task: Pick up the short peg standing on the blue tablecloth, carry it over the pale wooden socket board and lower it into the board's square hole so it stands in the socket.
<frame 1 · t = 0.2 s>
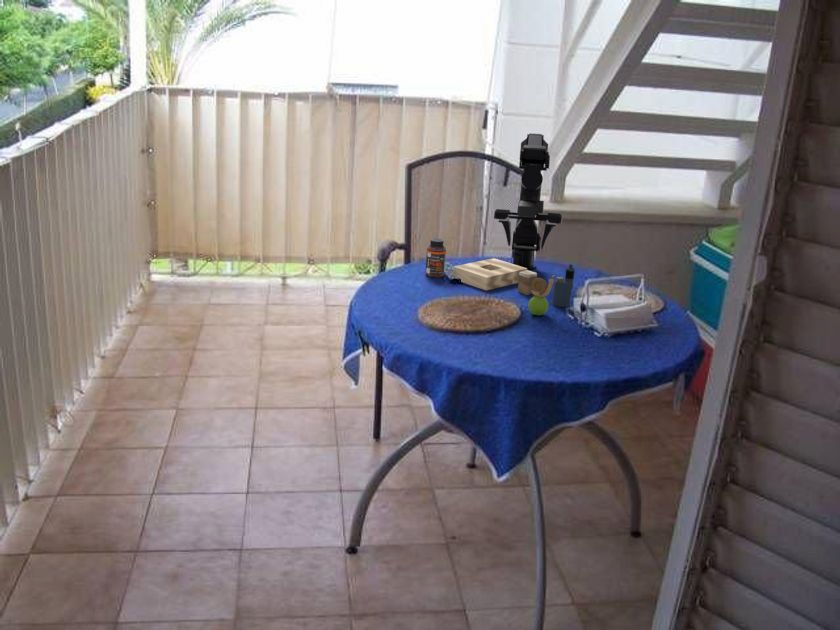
hand: (525, 247, 234), 15 cm above the table, tool pointing down, fingers open, 9 cm apart
snail figurine: (539, 316, 225), on the table
socket board: (489, 279, 255), on the table
supplement bottle: (434, 275, 257), on the table
peg: (526, 292, 244), on the table
vaping device: (561, 306, 234), on the table
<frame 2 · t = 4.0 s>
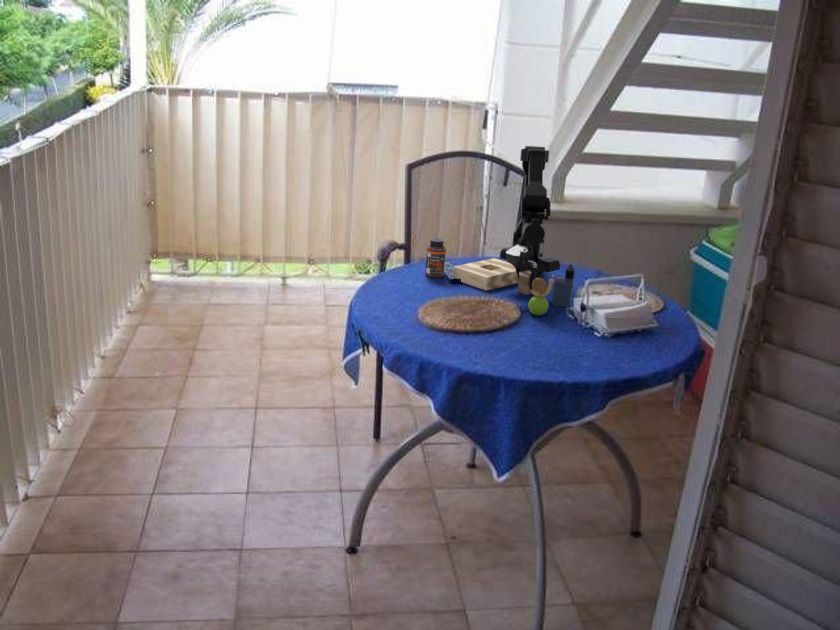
hand: (526, 287, 244), 2 cm above the table, tool pointing down, fingers closed on peg, 4 cm apart
peg: (526, 292, 244), on the table, touching gripper
everything else where it was.
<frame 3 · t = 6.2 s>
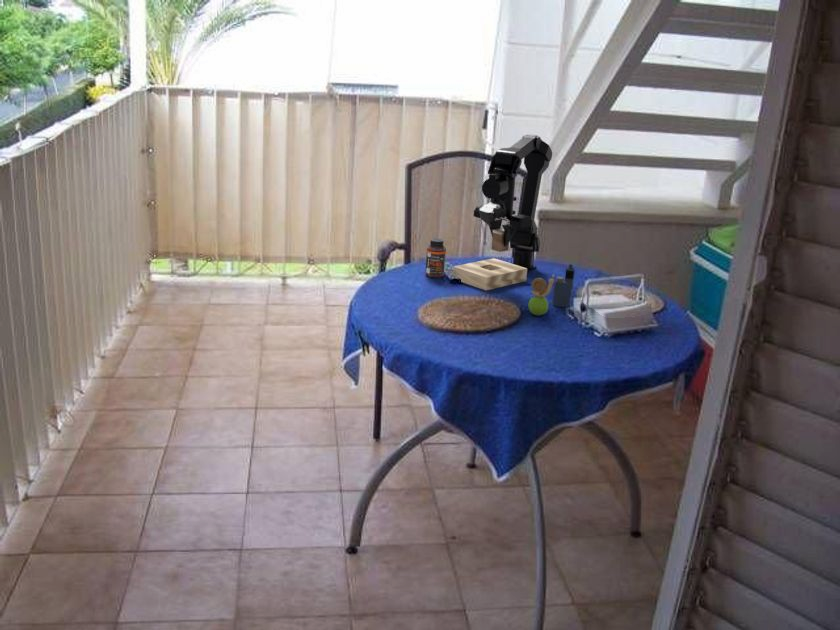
hand: (500, 244, 249), 12 cm above the table, tool pointing down, fingers closed on peg, 4 cm apart
peg: (499, 249, 249), point 10 cm above the table, touching gripper
everything else where it was.
when the fingers open (4 cm above the table, at t = 8.8 s): peg drops 3 cm, resting on socket board.
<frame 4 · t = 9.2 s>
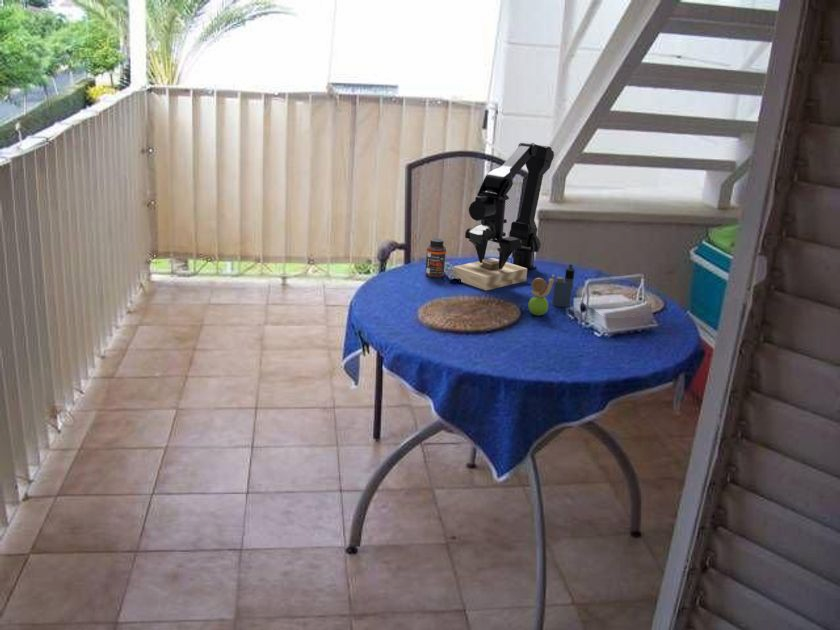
hand: (490, 265, 253), 4 cm above the table, tool pointing down, fingers open, 8 cm apart
peg: (489, 279, 255), resting on socket board
everything else where it was.
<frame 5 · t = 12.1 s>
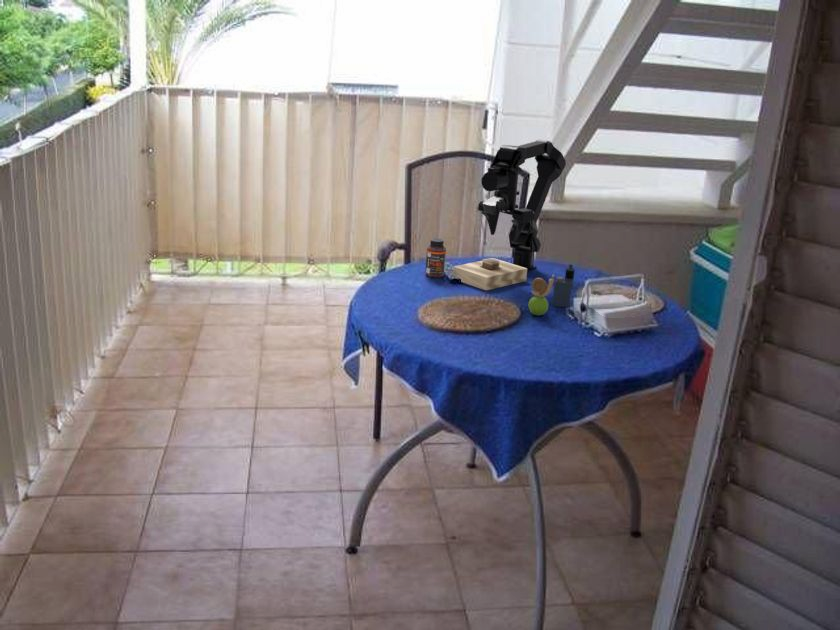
hand: (503, 237, 257), 12 cm above the table, tool pointing down, fingers open, 9 cm apart
nothing on the table moved.
at the end: peg 0.0 cm off-centre on the socket board, point 0.3 cm above the socket board's base; peg tilted 0°; the gripper is holding nothing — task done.
